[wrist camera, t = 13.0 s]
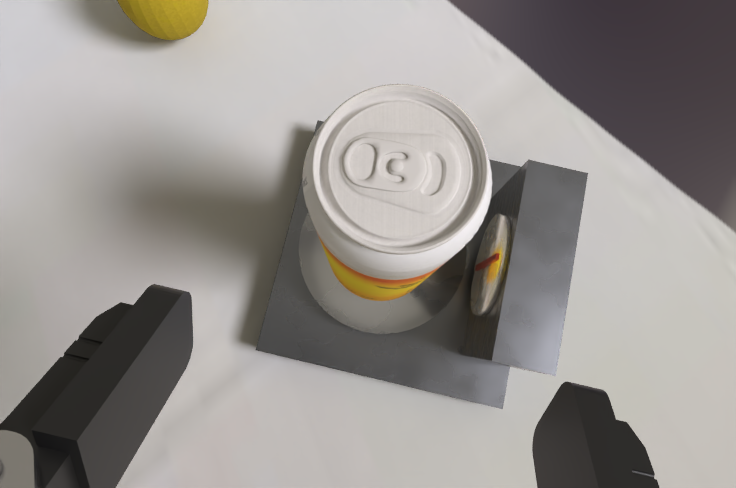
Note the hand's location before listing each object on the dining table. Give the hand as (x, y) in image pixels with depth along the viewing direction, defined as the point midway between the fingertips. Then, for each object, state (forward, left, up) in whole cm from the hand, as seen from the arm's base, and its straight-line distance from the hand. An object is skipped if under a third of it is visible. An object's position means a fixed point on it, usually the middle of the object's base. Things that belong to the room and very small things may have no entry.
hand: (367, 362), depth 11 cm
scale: (+1, +6, -21) cm, 22 cm away
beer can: (0, +6, -18) cm, 19 cm away
